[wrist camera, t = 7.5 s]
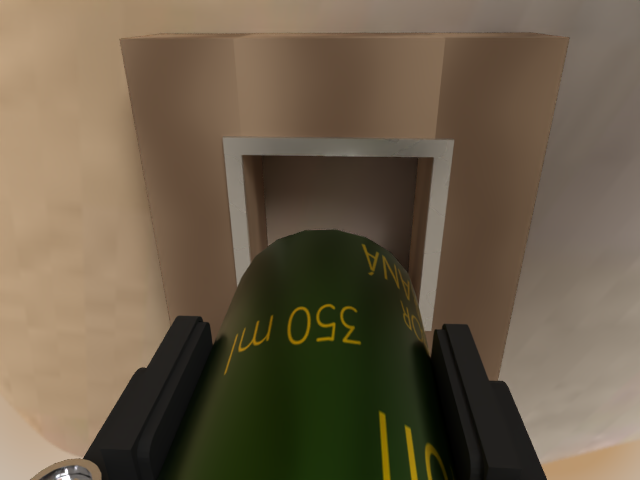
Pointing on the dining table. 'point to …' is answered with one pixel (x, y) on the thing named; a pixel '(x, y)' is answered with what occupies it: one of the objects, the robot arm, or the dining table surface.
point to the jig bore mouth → (346, 147)
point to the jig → (348, 121)
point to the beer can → (317, 373)
